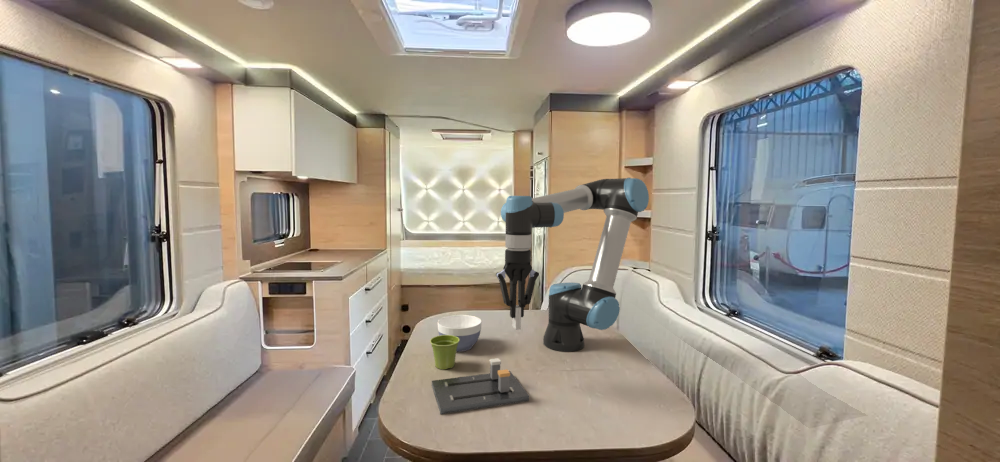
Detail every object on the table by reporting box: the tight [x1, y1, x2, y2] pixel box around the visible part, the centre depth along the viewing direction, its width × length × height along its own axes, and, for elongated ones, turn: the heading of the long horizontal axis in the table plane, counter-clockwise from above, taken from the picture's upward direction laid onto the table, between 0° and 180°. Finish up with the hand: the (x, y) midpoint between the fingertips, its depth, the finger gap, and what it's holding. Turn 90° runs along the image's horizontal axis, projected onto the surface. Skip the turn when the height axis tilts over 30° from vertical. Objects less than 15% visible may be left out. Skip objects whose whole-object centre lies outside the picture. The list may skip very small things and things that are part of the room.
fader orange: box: [498, 368, 511, 393], centre depth 110 cm, size 3×2×5 cm
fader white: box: [489, 357, 502, 380], centre depth 118 cm, size 3×2×5 cm
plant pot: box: [429, 335, 459, 370], centre depth 130 cm, size 9×9×9 cm
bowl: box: [437, 314, 483, 352], centre depth 147 cm, size 16×16×10 cm
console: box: [431, 370, 530, 415], centre depth 113 cm, size 24×16×2 cm, turn 108°
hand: (516, 328), depth 119 cm, fingers closed
